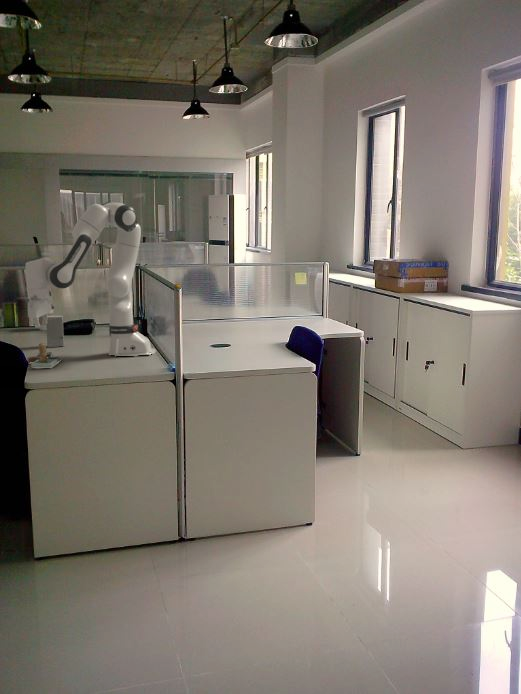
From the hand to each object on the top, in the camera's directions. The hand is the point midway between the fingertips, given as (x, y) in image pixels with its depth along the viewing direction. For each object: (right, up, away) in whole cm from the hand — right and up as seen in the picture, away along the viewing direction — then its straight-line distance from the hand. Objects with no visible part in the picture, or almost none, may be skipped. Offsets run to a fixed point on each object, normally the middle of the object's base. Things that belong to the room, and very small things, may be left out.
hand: (41, 325), depth 298 cm
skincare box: (-9, -9, +51) cm, 53 cm away
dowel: (0, -18, +4) cm, 18 cm away
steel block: (-6, -15, +23) cm, 28 cm away
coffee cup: (-31, +1, +103) cm, 107 cm away
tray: (0, -18, +4) cm, 19 cm away
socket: (+2, -17, +12) cm, 20 cm away
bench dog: (-6, -17, +11) cm, 21 cm away
